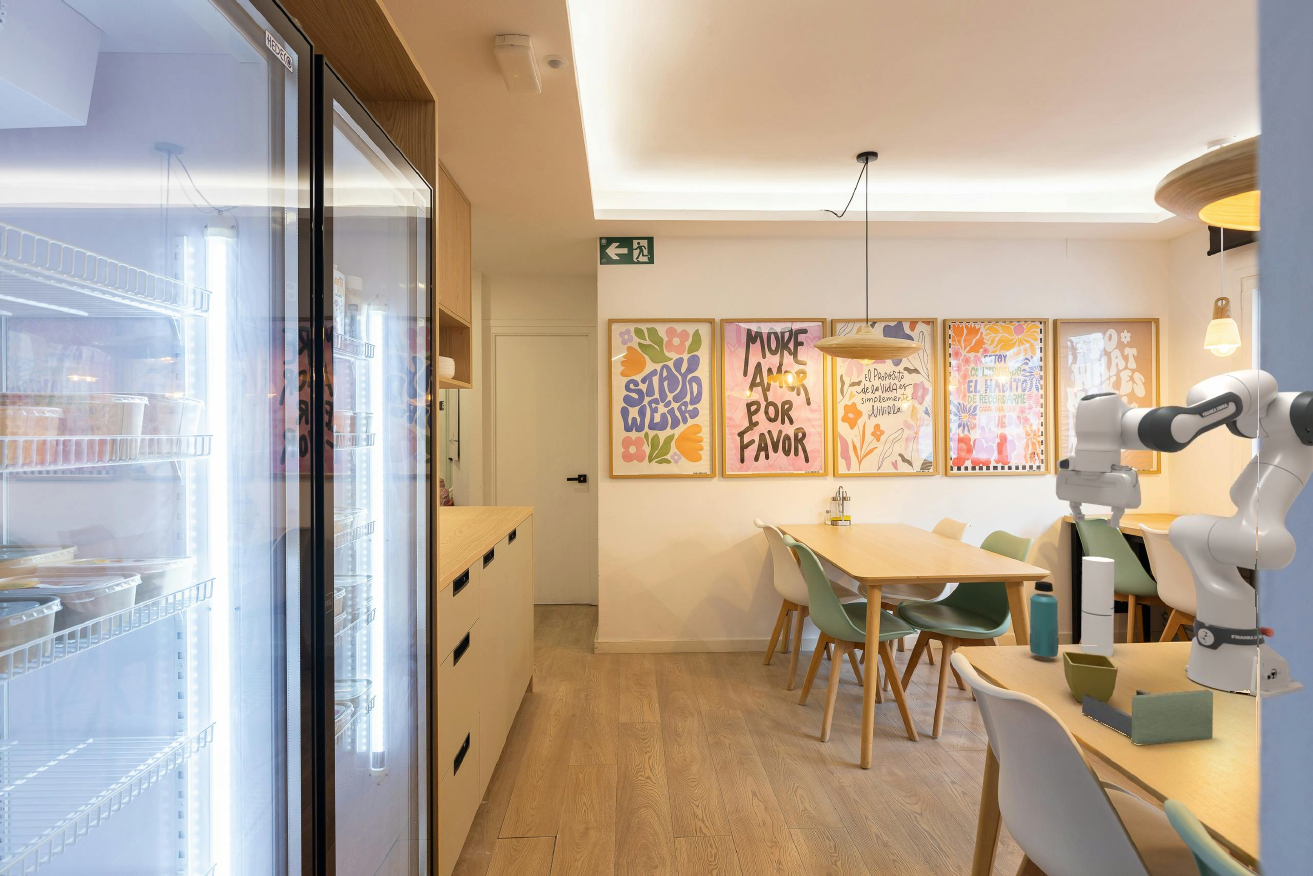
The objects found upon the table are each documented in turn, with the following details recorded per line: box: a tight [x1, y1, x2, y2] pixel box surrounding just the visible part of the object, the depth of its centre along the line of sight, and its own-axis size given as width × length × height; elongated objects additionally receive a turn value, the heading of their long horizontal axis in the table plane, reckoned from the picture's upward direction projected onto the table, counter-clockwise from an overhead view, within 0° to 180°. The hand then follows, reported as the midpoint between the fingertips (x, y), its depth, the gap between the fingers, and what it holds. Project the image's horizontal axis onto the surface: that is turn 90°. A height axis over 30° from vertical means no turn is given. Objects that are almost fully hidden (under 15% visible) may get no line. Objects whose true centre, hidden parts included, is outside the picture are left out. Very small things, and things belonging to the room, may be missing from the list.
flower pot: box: [1062, 650, 1119, 704], centre depth 147 cm, size 9×9×9 cm
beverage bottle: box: [1029, 580, 1060, 658], centre depth 174 cm, size 6×7×20 cm
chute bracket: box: [1081, 689, 1214, 745], centre depth 134 cm, size 17×14×9 cm
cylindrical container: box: [1080, 556, 1115, 658], centre depth 179 cm, size 7×7×25 cm
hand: (1095, 524), depth 153 cm, fingers open, 8 cm apart
